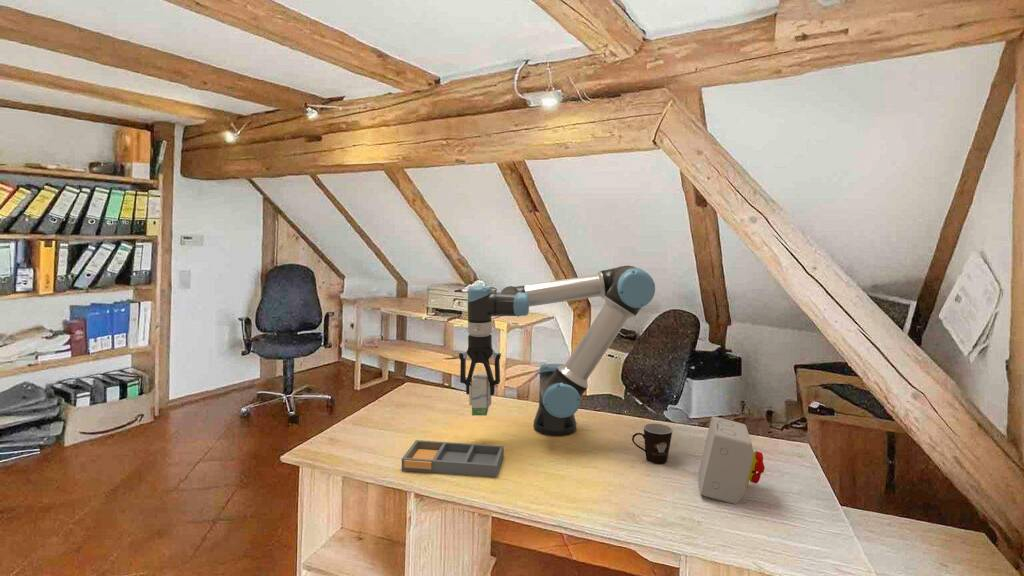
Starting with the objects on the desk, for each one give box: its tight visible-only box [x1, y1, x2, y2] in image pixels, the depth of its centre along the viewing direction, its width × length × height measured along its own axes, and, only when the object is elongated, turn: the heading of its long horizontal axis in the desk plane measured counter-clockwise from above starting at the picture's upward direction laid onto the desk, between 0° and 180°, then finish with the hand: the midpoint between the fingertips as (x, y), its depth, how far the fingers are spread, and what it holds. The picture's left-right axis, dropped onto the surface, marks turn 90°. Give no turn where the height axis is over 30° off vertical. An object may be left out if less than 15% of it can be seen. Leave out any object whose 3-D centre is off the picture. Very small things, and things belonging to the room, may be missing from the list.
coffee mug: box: [631, 422, 674, 465], centre depth 172 cm, size 12×9×10 cm
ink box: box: [471, 372, 490, 417], centre depth 180 cm, size 9×5×12 cm, turn 178°
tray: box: [401, 439, 505, 478], centre depth 167 cm, size 28×15×4 cm, turn 83°
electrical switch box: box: [698, 415, 766, 505], centre depth 151 cm, size 15×15×20 cm
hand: (480, 404), depth 181 cm, fingers closed on ink box, 5 cm apart
